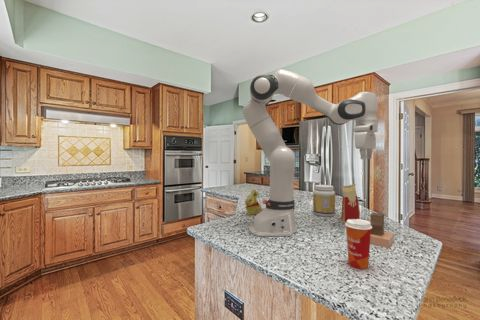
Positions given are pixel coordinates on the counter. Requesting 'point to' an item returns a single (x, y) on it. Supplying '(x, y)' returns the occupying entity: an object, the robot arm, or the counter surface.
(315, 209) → the supplement tub
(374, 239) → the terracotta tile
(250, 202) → the chocolate bunny
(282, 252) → the counter surface
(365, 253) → the paper cup
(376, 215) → the walnut block
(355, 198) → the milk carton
